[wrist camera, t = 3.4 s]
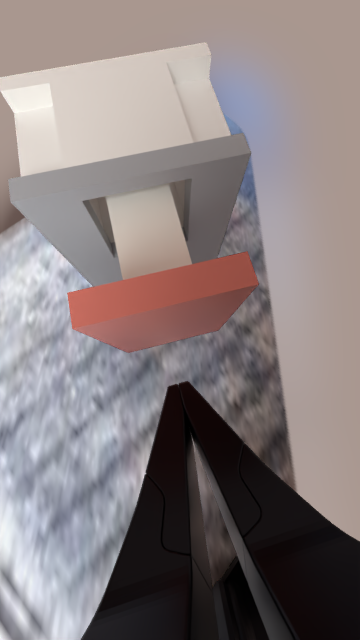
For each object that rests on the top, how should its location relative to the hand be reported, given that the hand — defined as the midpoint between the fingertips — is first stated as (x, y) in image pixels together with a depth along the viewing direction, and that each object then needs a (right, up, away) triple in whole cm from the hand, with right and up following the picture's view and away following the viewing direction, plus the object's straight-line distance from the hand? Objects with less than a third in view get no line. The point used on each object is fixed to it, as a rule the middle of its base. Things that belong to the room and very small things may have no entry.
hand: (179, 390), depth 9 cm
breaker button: (-1, +5, +4) cm, 7 cm away
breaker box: (-3, +9, +11) cm, 14 cm away
